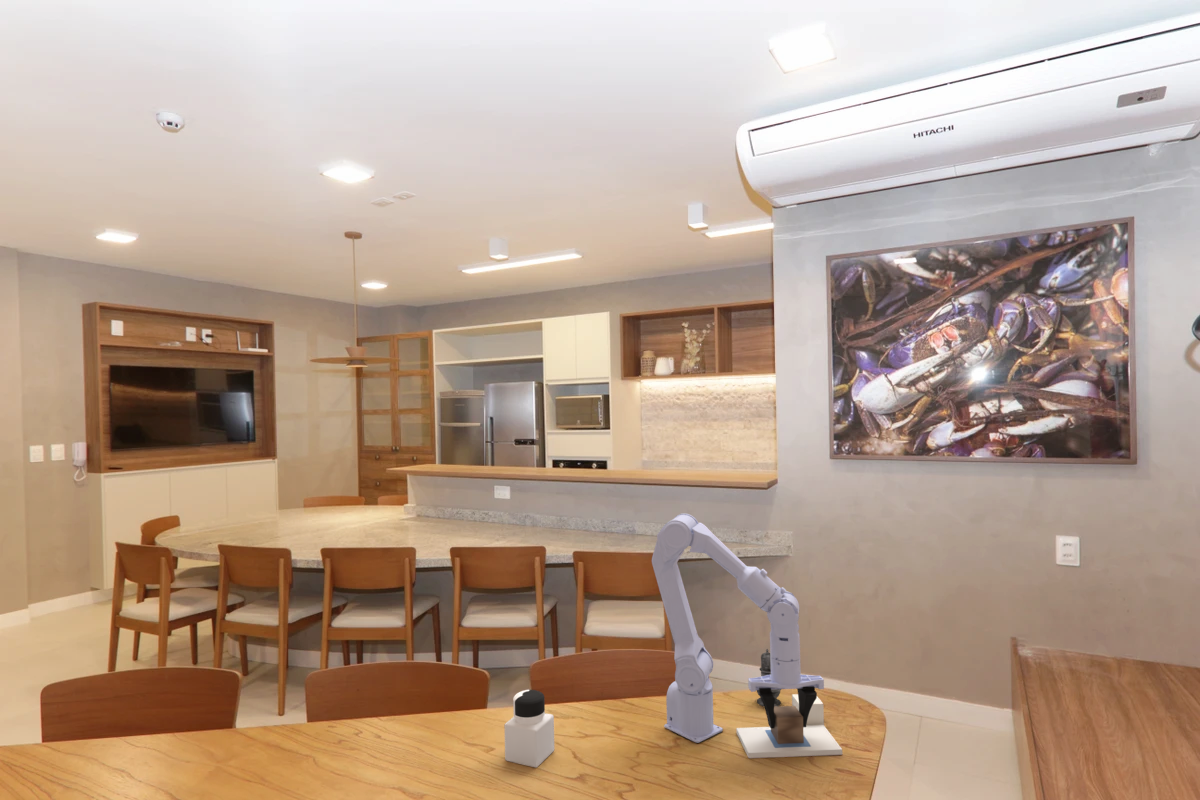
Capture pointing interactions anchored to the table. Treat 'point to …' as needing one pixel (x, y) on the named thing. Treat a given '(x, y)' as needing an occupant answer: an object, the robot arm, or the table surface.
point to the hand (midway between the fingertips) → (787, 725)
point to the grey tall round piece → (765, 671)
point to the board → (765, 745)
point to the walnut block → (788, 725)
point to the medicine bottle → (529, 730)
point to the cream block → (812, 711)
